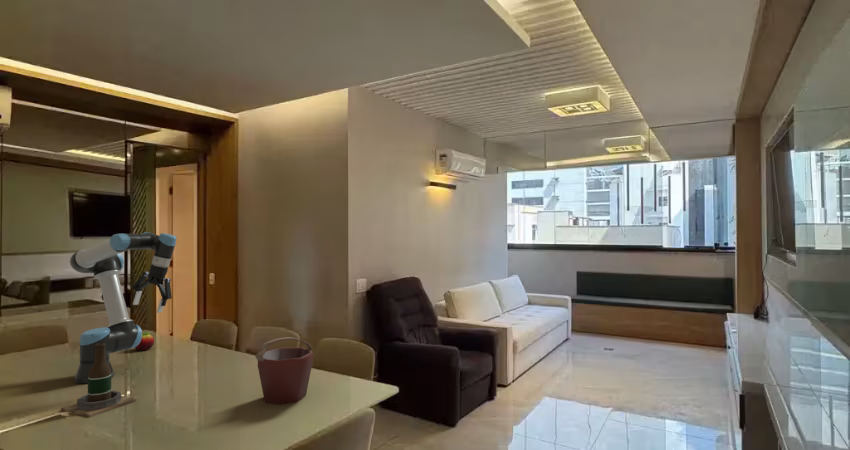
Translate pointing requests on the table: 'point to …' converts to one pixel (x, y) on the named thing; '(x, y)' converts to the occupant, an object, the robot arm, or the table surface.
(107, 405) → the collar stand
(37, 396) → the table surface
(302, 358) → the bucket
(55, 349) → the table surface
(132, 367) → the table surface
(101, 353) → the beer bottle
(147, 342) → the fruit
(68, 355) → the table surface
